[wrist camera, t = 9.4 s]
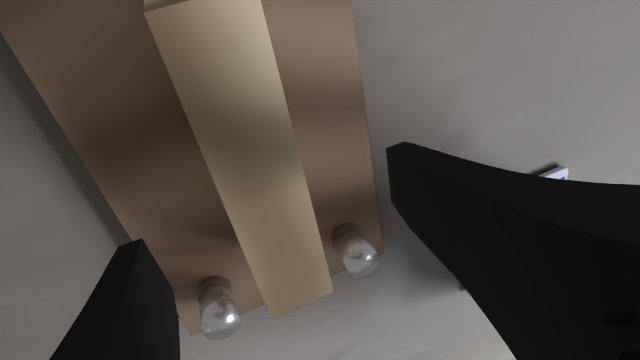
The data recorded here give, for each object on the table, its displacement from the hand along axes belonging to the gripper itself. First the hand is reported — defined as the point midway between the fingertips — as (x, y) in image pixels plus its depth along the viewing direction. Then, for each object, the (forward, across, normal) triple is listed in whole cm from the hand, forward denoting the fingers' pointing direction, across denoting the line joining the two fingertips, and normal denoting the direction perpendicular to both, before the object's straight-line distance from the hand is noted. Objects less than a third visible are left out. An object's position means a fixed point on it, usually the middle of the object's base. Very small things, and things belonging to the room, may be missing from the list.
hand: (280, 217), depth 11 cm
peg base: (+8, 0, 0) cm, 8 cm away
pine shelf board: (+7, 0, 0) cm, 7 cm away
